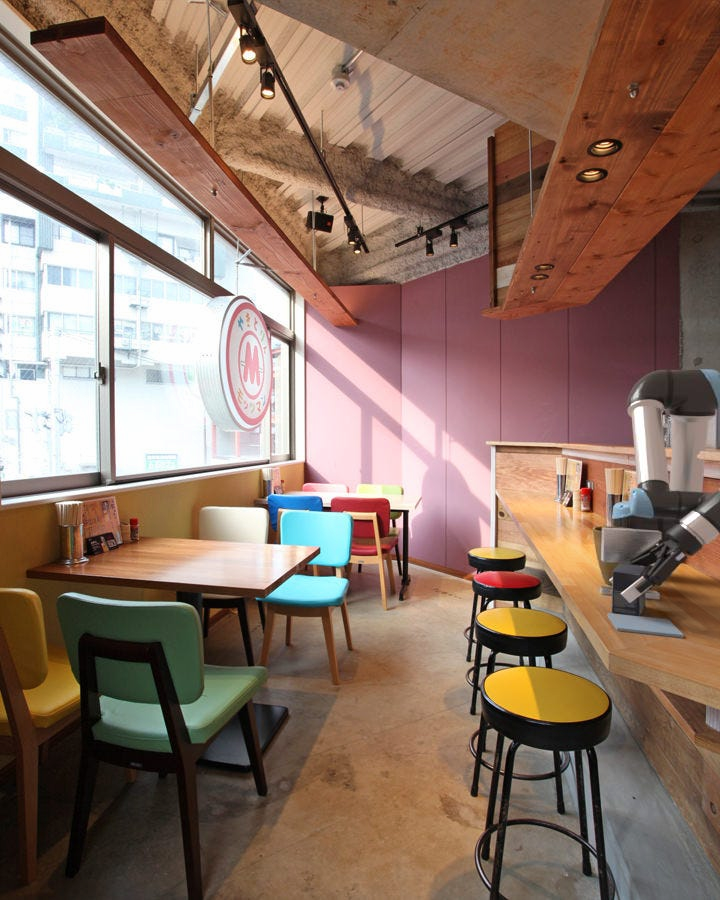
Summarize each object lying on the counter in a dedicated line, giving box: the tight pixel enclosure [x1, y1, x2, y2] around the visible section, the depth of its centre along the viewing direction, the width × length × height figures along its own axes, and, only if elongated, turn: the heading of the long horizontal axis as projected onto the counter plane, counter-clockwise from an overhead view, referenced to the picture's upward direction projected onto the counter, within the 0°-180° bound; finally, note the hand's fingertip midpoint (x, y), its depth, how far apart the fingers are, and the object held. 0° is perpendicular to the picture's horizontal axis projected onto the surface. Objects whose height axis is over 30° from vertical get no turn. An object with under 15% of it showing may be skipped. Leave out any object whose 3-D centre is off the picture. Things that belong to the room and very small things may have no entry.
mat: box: [606, 612, 685, 639], centre depth 113 cm, size 10×13×1 cm
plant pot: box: [592, 525, 630, 586], centre depth 147 cm, size 15×15×16 cm
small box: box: [611, 563, 647, 617], centre depth 124 cm, size 11×6×10 cm, turn 144°
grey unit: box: [599, 527, 662, 601], centre depth 136 cm, size 4×14×18 cm, turn 75°
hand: (618, 591), depth 124 cm, fingers closed on small box, 12 cm apart
